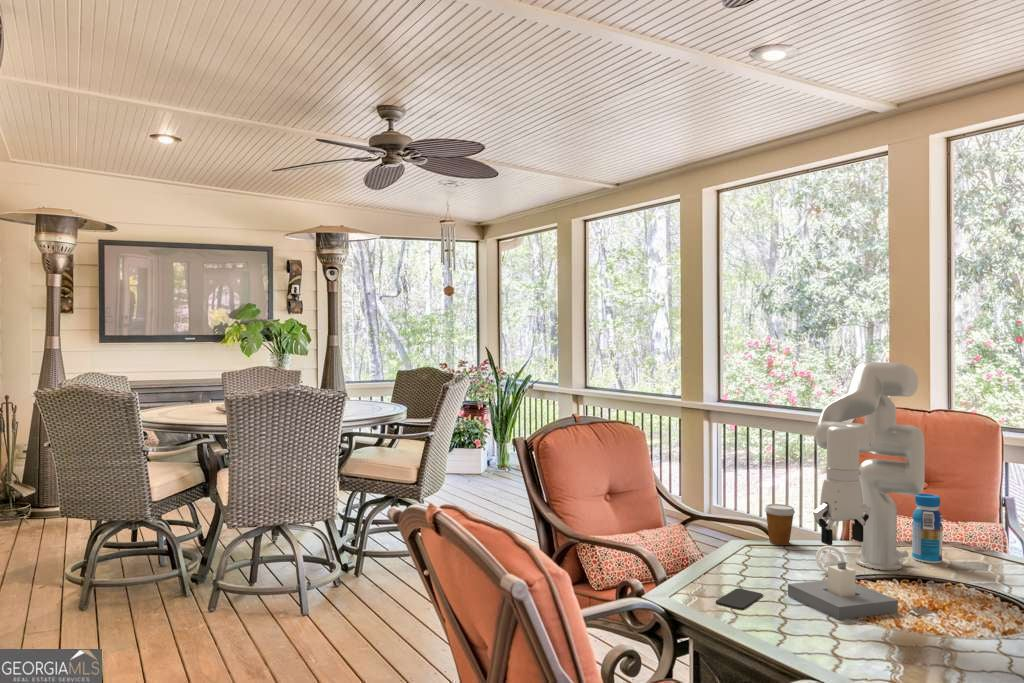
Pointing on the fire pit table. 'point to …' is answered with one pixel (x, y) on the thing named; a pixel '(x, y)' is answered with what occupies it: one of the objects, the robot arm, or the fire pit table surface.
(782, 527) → the disposable coffee cup
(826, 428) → the robot arm
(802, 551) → the fire pit table surface
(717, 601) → the phone
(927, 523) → the beverage bottle
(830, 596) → the socket plate
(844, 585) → the plug
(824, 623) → the fire pit table surface
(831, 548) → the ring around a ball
